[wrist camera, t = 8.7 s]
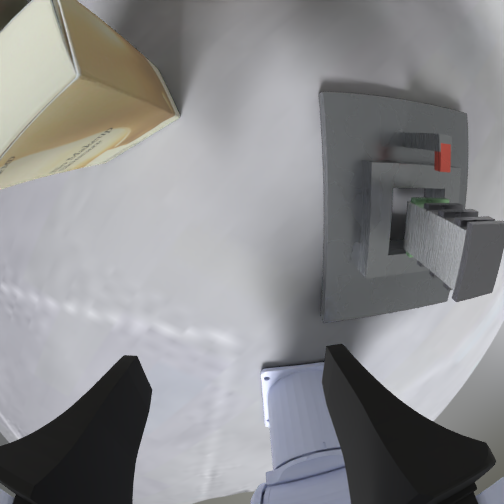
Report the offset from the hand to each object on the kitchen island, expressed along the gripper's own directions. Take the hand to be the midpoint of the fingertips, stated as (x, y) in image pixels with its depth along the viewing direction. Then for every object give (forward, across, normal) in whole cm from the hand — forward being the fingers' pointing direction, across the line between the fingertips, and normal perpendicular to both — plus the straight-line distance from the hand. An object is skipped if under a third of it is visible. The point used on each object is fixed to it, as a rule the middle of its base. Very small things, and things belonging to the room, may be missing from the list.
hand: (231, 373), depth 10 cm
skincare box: (+10, +6, -11) cm, 16 cm away
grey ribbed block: (+7, -12, -3) cm, 14 cm away
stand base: (+10, -12, -3) cm, 16 cm away
